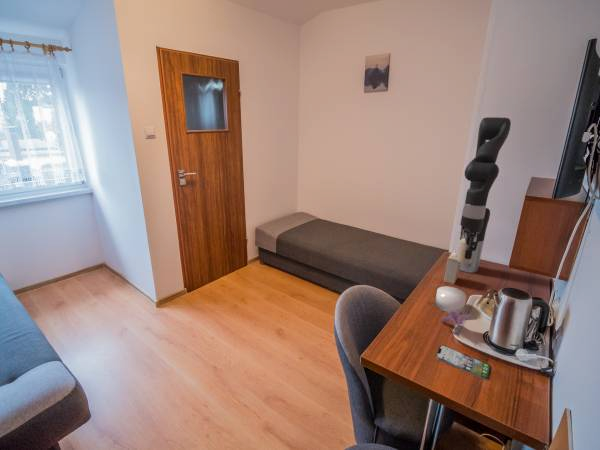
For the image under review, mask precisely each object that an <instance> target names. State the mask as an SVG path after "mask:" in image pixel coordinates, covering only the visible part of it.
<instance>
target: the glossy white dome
mask: <svg viewBox="0 0 600 450" xmlns="http://www.w3.org/2000/svg"><path fill="white" fill-rule="evenodd" d="M436 289H437V290H436V294H435V295H436V296H435V301H434V302H435V303H434V305H435V306H436V308H437V309H439V310H441V311H443V312H444V313H448V314H449V312H450V311H456V312H458V313H459V314H462V313H463V312H464V311H463V310H465V307H466V302H467V297H468V296H467V294H466V293H465V292H464V291H463V290H461V289H460V288H456V287H453V286H447V285H446V286H440V287H438V288H436ZM462 311H463V312H462ZM461 312H462V313H461Z"/></svg>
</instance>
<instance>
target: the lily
mask: <svg viewBox="0 0 600 450" xmlns="http://www.w3.org/2000/svg"><path fill="white" fill-rule="evenodd" d="M471 316H472V314H463V315H462V314H461V313H458V312H456V311H450V312H449V313H448V316H440V317H438V318H439V319H442V320H440V321H441V323H446V322H450V323H452V324H454V325H456V326H457V327H456V328H457V335H459V336H460V331H459V330H460V329H459V326H461V325H460V324H463V323H464V322H465V321H477V318H474V317H471Z"/></svg>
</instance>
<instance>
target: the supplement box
mask: <svg viewBox="0 0 600 450" xmlns="http://www.w3.org/2000/svg"><path fill="white" fill-rule="evenodd" d="M457 255H458V252H453V251H452V252H451V253H450V254H449V256H448V257H447V262H446V268H445V274H444V279H443V283H446V284H449V285H453V286H454V285H455V283H456V281H457V279H458V277H459V272H460V269H459V268H460V262H458V261H457Z"/></svg>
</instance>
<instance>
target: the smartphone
mask: <svg viewBox="0 0 600 450" xmlns="http://www.w3.org/2000/svg"><path fill="white" fill-rule="evenodd" d="M435 358H436V360H437V361H440V362H442V363H444V364H447V365H449V366H450V367H451V366H452V367H455V368H456V369H459V370H460V371H461V370H462V371H464V372H466V373H468V374H471V375H473V376H476V377H478V378H480V379H483V380H487V381H488V380H489V379H490V372H491V365H490V363H488V362H486V361H483V360H480V359H478V358H476V357H473V356H471V355H469V354H466V353H463V352H461V351H459V350H456V349H453V348H452V347H448V346H446V345H443V344H441V345H439V348H438V350H437V353H436V356H435Z"/></svg>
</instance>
